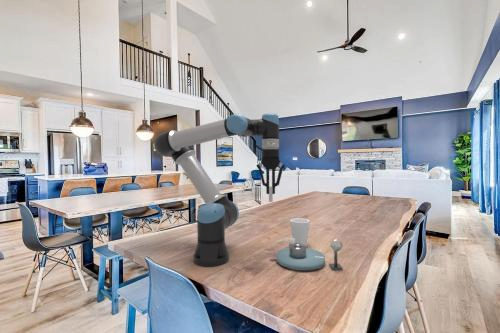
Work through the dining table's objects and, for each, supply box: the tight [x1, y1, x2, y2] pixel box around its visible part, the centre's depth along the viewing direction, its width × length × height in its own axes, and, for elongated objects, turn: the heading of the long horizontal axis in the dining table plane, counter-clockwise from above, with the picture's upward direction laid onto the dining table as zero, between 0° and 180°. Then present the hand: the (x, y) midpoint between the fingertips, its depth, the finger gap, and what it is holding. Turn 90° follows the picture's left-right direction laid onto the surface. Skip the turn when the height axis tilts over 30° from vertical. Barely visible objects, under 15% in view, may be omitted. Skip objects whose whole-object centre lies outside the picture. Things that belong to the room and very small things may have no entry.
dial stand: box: [328, 238, 343, 271], centre depth 103 cm, size 4×4×12 cm
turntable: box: [276, 237, 326, 271], centre depth 109 cm, size 20×20×7 cm
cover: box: [288, 243, 307, 259], centre depth 108 cm, size 7×7×5 cm
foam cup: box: [289, 217, 311, 247], centre depth 128 cm, size 10×9×13 cm
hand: (270, 201), depth 117 cm, fingers closed
